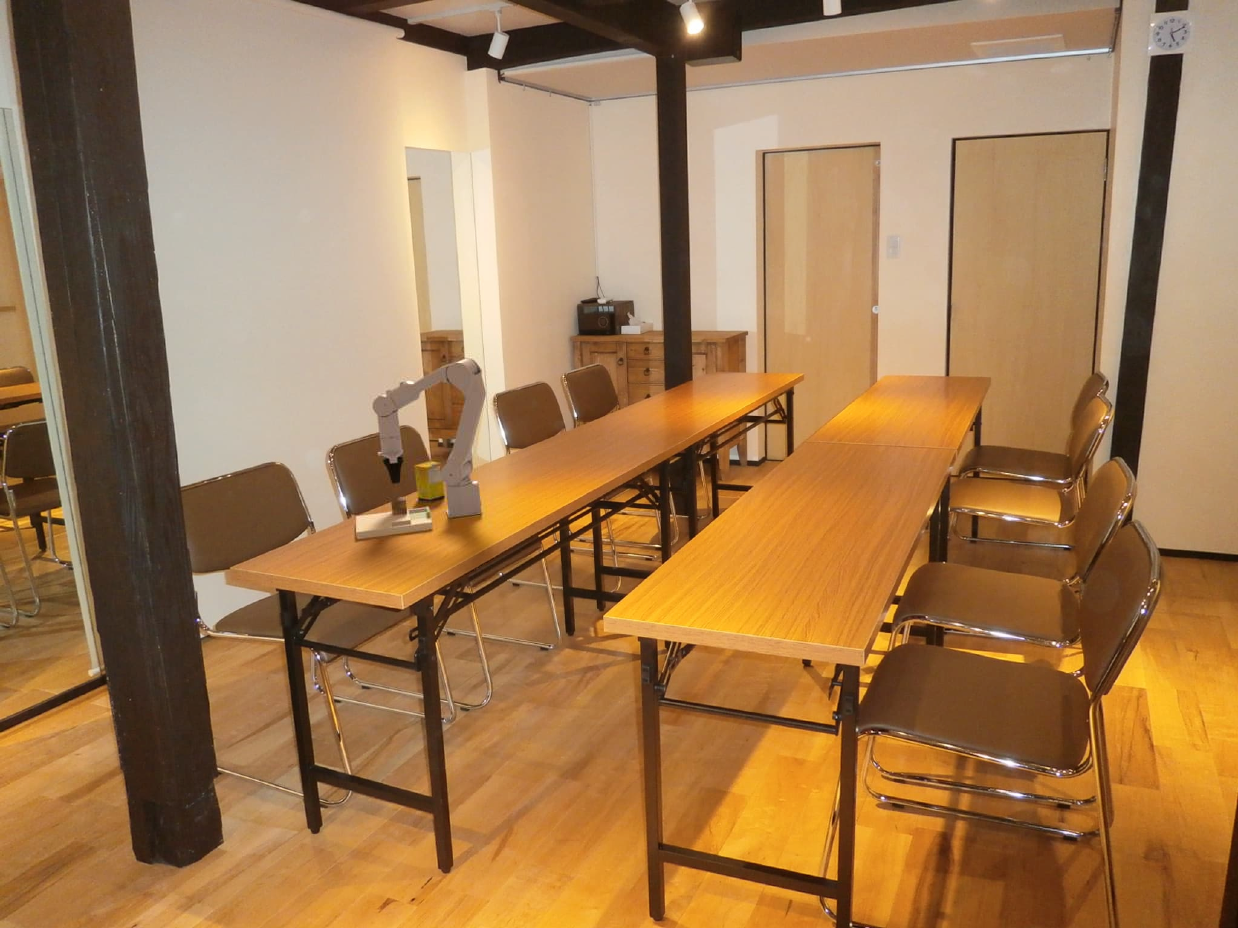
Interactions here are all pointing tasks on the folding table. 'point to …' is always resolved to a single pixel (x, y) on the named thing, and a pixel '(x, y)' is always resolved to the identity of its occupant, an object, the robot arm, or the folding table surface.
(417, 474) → the supplement box
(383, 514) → the deck
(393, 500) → the block
